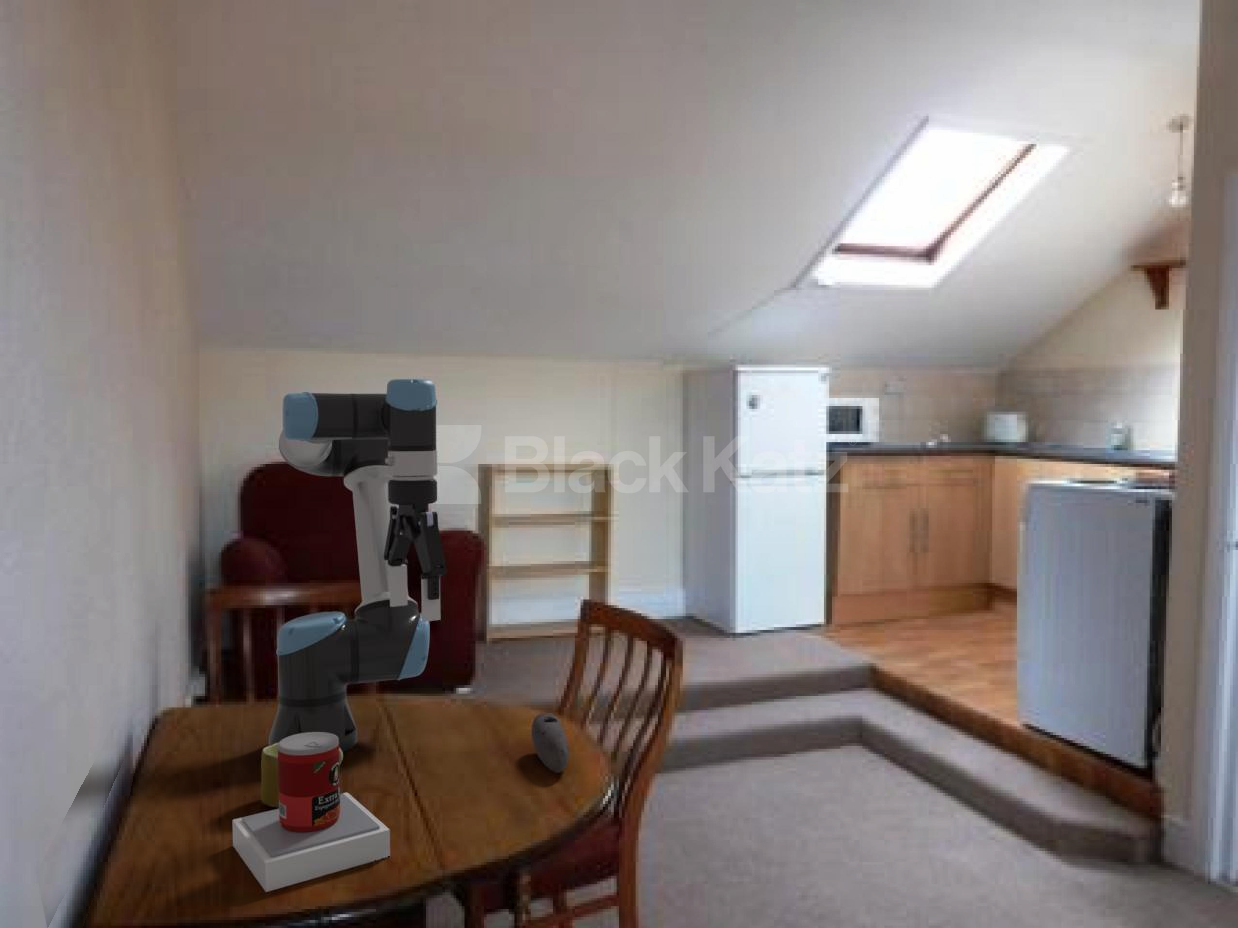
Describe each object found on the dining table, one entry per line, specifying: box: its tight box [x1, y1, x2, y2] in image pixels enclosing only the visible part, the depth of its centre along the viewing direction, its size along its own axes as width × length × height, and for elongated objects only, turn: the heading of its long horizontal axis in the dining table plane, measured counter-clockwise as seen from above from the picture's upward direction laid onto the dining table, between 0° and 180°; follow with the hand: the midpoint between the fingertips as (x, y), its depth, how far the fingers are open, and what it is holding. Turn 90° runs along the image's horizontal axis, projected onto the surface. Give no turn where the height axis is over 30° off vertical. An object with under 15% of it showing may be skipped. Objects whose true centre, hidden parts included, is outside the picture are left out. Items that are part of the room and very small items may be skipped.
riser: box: [231, 791, 391, 893], centre depth 125 cm, size 16×16×4 cm
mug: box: [260, 743, 344, 809], centre depth 143 cm, size 12×10×10 cm
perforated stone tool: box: [531, 712, 569, 774], centre depth 158 cm, size 15×5×7 cm, turn 13°
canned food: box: [278, 732, 341, 832], centre depth 125 cm, size 8×8×11 cm
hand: (414, 612), depth 147 cm, fingers open, 13 cm apart
